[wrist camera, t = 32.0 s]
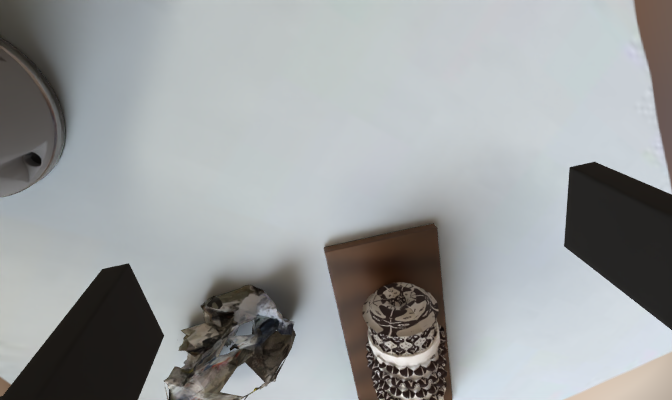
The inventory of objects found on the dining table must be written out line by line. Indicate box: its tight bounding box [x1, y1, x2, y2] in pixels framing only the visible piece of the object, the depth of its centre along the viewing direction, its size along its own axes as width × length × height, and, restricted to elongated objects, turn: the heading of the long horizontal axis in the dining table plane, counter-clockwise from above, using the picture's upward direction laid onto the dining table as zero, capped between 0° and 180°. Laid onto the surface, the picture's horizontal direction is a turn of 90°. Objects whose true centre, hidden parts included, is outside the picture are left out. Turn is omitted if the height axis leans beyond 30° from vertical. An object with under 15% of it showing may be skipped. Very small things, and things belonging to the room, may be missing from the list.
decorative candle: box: [362, 282, 447, 400], centre depth 46 cm, size 9×9×25 cm
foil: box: [164, 285, 296, 400], centre depth 45 cm, size 12×11×15 cm
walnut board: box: [324, 223, 452, 400], centre depth 50 cm, size 30×13×1 cm, turn 11°
